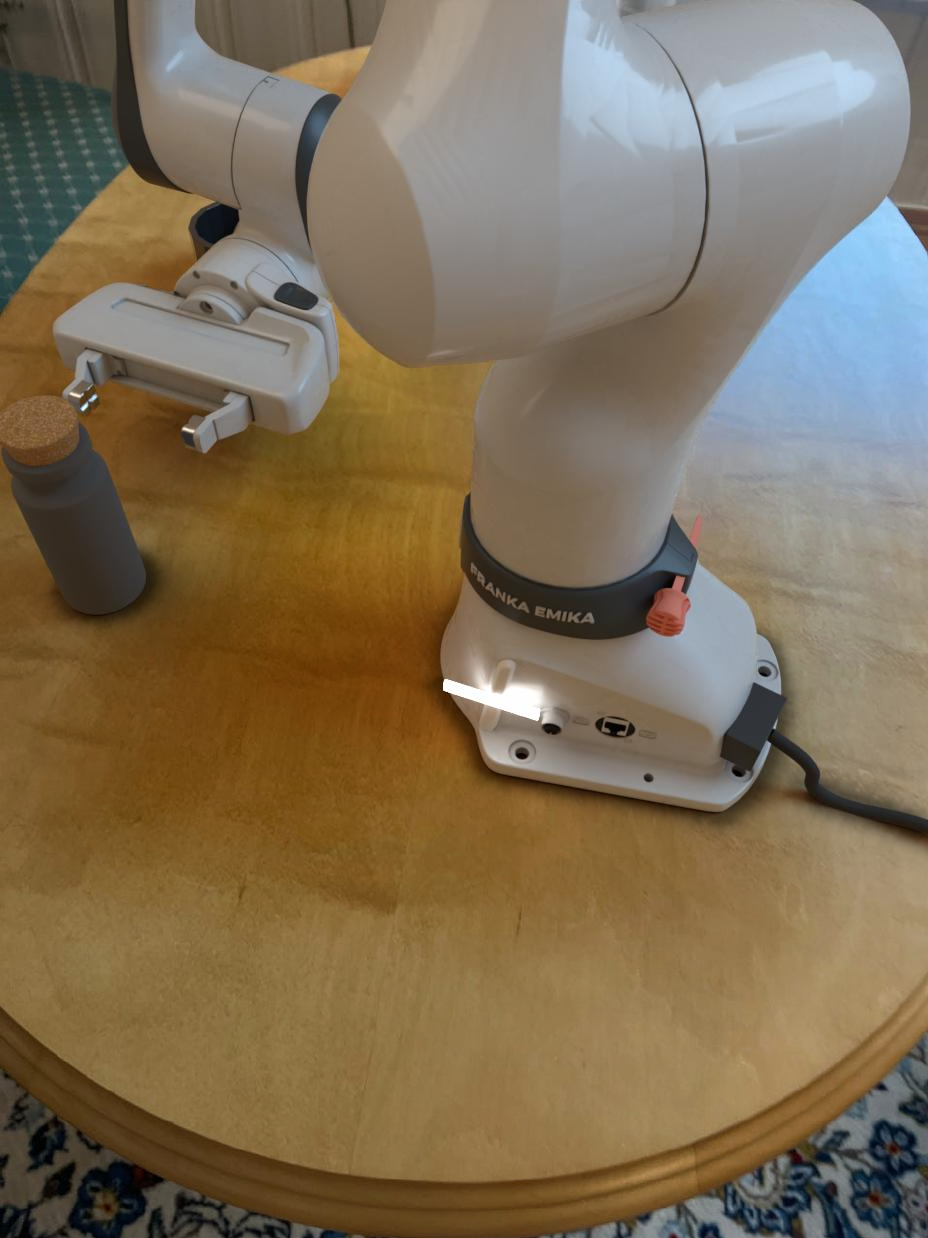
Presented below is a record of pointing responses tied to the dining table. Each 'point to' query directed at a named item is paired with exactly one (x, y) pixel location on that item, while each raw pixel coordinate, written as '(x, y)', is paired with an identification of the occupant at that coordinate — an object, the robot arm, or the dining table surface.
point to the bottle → (70, 505)
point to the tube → (211, 226)
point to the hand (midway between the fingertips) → (131, 424)
